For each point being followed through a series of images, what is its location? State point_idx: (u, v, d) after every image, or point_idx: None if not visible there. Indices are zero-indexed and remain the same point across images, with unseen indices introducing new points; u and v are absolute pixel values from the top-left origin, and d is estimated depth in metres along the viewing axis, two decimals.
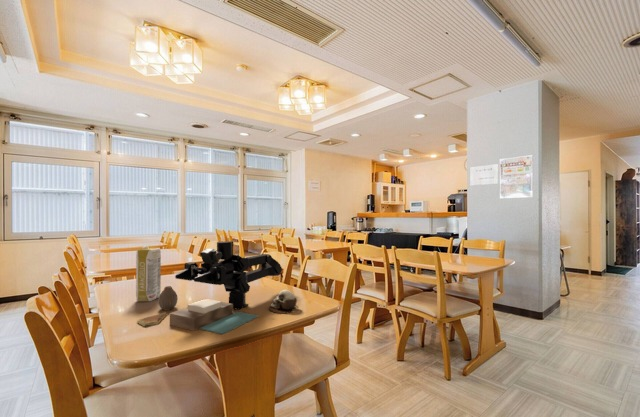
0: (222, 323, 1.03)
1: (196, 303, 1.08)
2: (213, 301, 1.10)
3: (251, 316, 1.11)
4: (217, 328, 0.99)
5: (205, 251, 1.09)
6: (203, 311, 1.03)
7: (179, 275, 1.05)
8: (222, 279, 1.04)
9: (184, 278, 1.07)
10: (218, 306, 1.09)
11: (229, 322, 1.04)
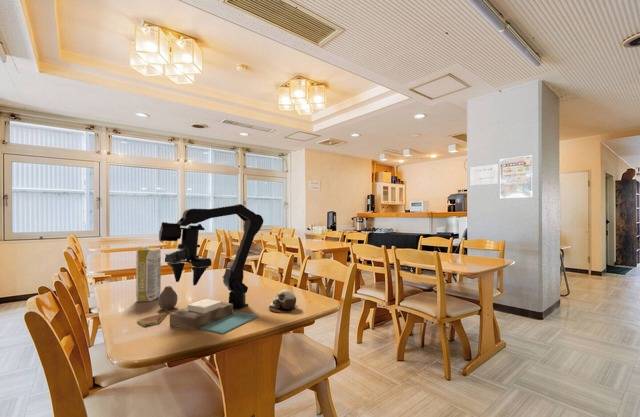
0: (222, 323, 1.03)
1: (196, 303, 1.08)
2: (213, 301, 1.10)
3: (251, 316, 1.11)
4: (217, 328, 0.99)
5: (169, 260, 1.06)
6: (203, 311, 1.03)
7: (177, 278, 1.14)
8: (208, 264, 1.10)
9: (181, 271, 1.16)
10: (218, 306, 1.09)
11: (229, 322, 1.04)
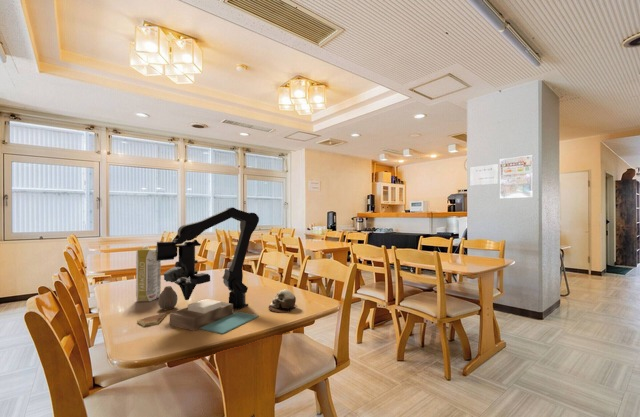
0: (222, 323, 1.03)
1: (196, 303, 1.08)
2: (213, 301, 1.10)
3: (251, 316, 1.11)
4: (217, 328, 0.99)
5: (168, 279, 1.06)
6: (203, 311, 1.03)
7: None
8: (207, 280, 1.10)
9: None
10: (218, 306, 1.09)
11: (229, 322, 1.04)
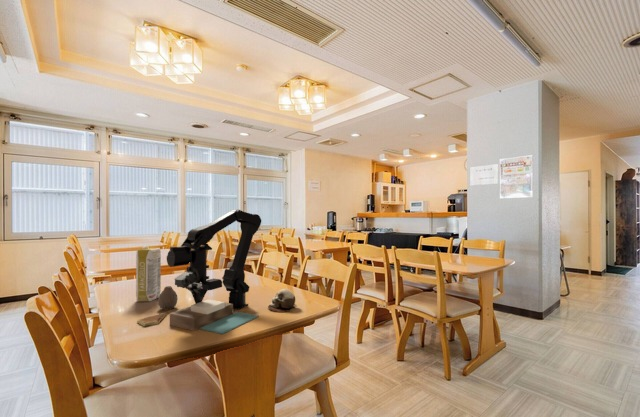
0: (222, 323, 1.03)
1: (199, 304, 1.07)
2: (216, 302, 1.09)
3: (251, 316, 1.11)
4: (217, 328, 0.99)
5: (179, 285, 1.03)
6: (206, 312, 1.02)
7: None
8: (219, 286, 1.07)
9: None
10: (221, 307, 1.08)
11: (229, 322, 1.04)
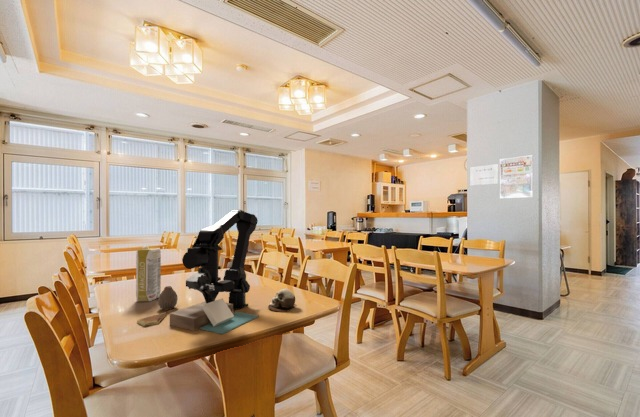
0: (222, 323, 1.03)
1: (212, 306, 1.04)
2: (227, 310, 1.07)
3: (251, 316, 1.11)
4: (217, 328, 0.99)
5: (191, 287, 1.01)
6: (214, 324, 1.00)
7: None
8: (231, 288, 1.04)
9: None
10: (228, 319, 1.06)
11: (229, 322, 1.04)
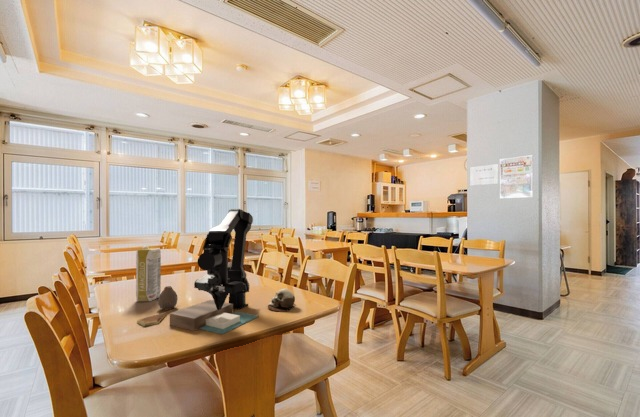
0: None
1: (214, 318, 1.03)
2: (231, 315, 1.06)
3: (251, 316, 1.11)
4: (217, 328, 0.99)
5: (201, 288, 0.99)
6: (222, 326, 0.98)
7: None
8: (242, 289, 1.02)
9: None
10: (236, 320, 1.04)
11: None
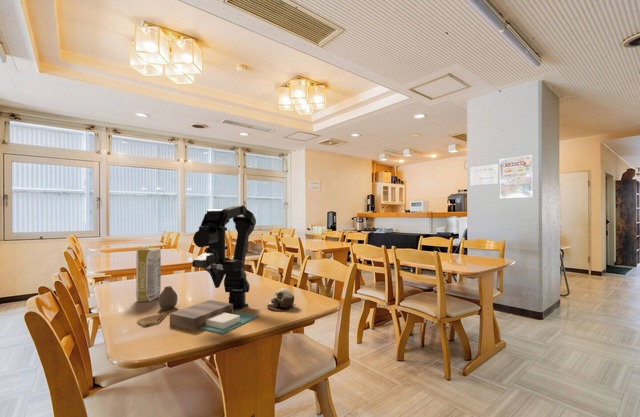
0: None
1: (214, 318, 1.03)
2: (231, 315, 1.06)
3: (251, 316, 1.11)
4: (217, 328, 0.99)
5: (199, 265, 1.00)
6: (222, 326, 0.98)
7: None
8: (239, 267, 1.04)
9: None
10: (236, 320, 1.04)
11: None
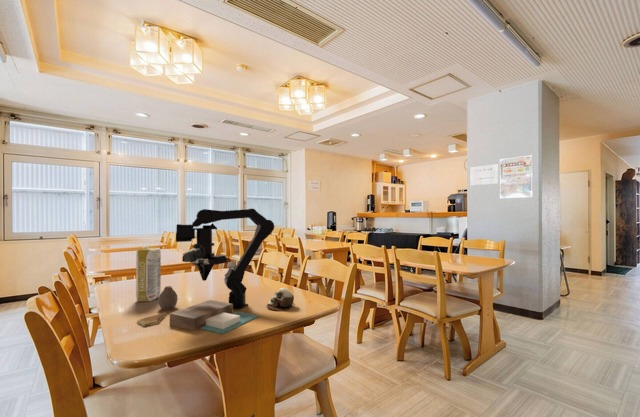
0: None
1: (214, 318, 1.03)
2: (231, 315, 1.06)
3: (251, 316, 1.11)
4: (217, 328, 0.99)
5: (187, 260, 1.12)
6: (222, 326, 0.98)
7: None
8: (224, 261, 1.15)
9: None
10: (236, 320, 1.04)
11: None
